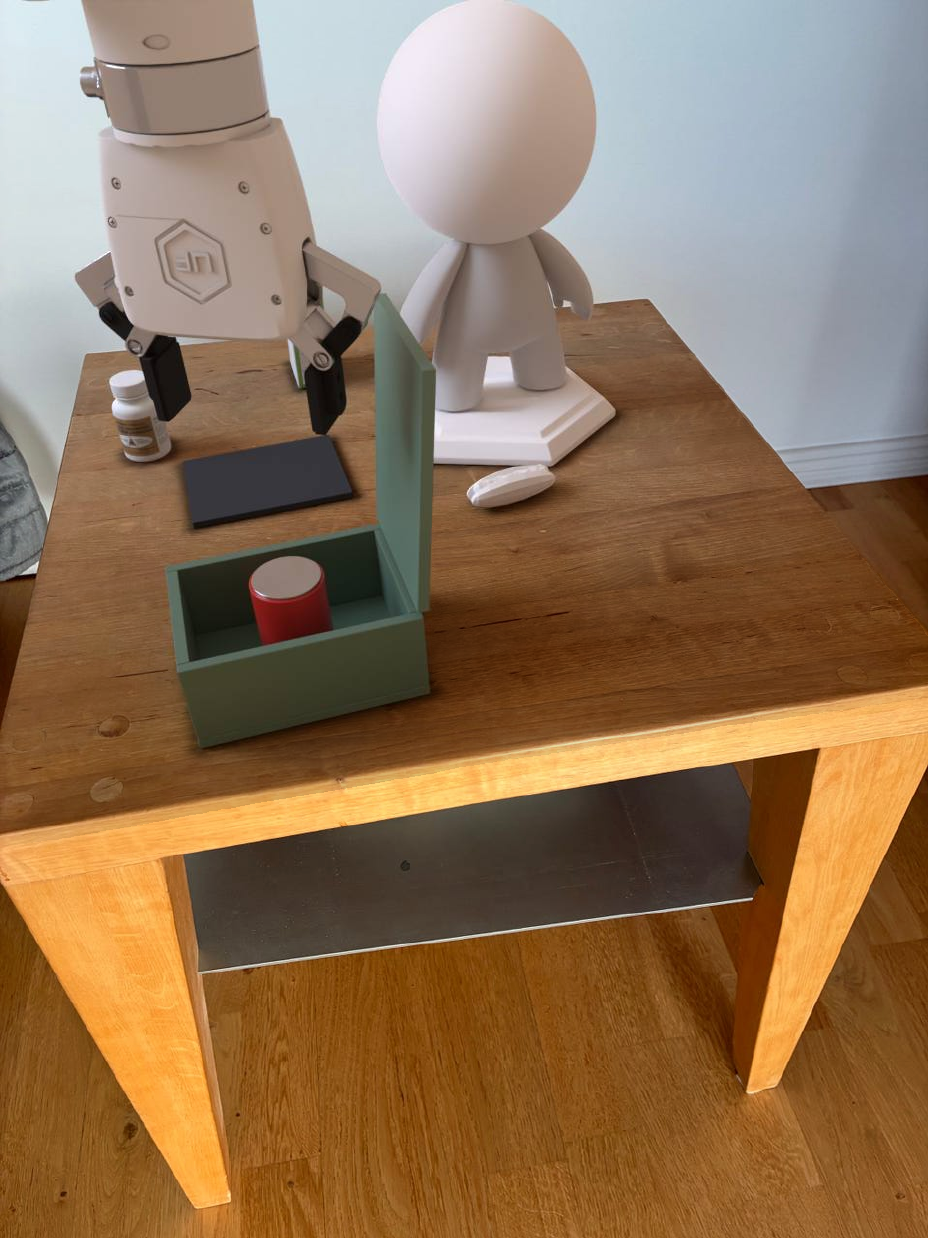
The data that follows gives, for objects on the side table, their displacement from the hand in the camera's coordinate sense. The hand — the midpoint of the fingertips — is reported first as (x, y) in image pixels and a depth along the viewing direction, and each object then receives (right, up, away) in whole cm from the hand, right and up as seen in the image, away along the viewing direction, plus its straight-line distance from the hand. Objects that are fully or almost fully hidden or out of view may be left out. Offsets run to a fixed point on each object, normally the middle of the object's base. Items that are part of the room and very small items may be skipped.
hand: (250, 417), depth 57 cm
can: (+1, -15, +12) cm, 19 cm away
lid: (+8, -2, +4) cm, 9 cm away
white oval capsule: (+17, -1, +28) cm, 33 cm away
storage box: (+1, -15, +12) cm, 19 cm away
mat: (-6, +1, +32) cm, 32 cm away
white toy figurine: (+16, +8, +40) cm, 44 cm away
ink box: (-4, +15, +48) cm, 51 cm away
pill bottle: (-18, +4, +37) cm, 41 cm away
